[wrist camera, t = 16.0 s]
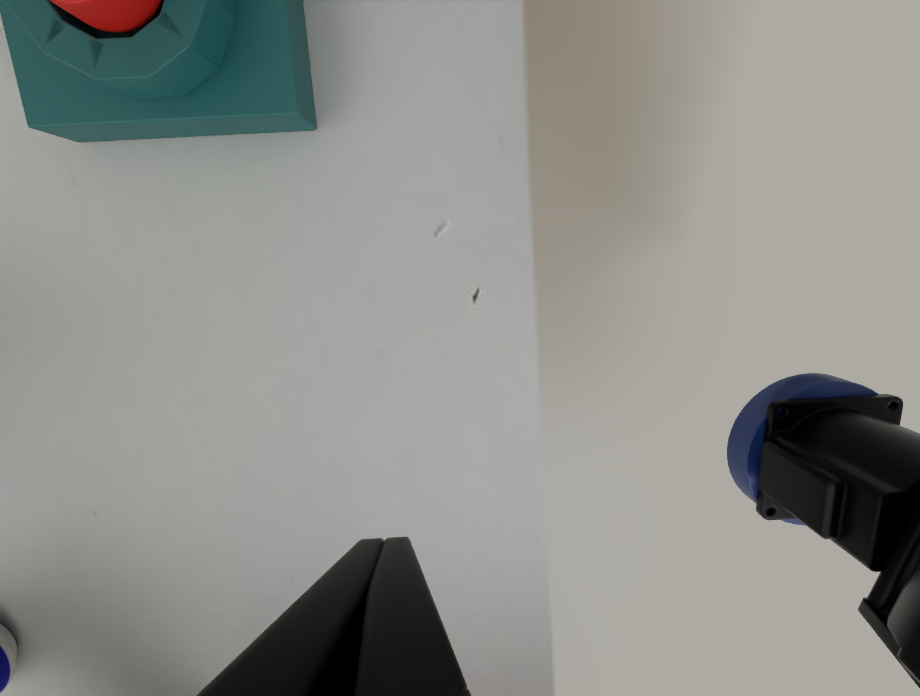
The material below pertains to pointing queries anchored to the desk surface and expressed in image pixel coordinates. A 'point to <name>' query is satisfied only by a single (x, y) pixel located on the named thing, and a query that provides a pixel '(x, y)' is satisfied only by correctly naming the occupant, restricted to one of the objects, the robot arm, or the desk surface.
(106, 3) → the button
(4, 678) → the beverage can
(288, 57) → the control block
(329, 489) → the desk surface
